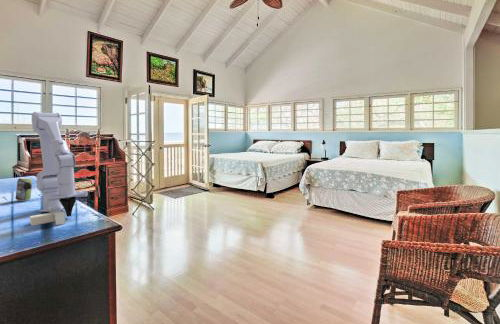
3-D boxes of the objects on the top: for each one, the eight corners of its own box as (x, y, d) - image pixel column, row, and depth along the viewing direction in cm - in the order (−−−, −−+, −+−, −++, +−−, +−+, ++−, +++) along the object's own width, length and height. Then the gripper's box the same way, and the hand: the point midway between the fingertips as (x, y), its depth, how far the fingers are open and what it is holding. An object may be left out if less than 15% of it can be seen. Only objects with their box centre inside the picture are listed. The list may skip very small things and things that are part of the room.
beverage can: (15, 200, 140) (13, 177, 139) (33, 198, 146) (31, 176, 144) (16, 202, 136) (13, 179, 135) (34, 200, 141) (32, 177, 140)
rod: (31, 225, 103) (30, 218, 102) (30, 223, 105) (29, 216, 104) (65, 219, 110) (65, 212, 110) (64, 217, 113) (63, 210, 112)
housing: (49, 217, 113) (48, 206, 112) (58, 215, 115) (57, 204, 114) (56, 225, 103) (55, 213, 102) (65, 223, 105) (64, 211, 104)
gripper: (46, 187, 102) (49, 222, 104) (89, 182, 112) (91, 213, 114) (43, 184, 107) (45, 217, 109) (84, 180, 117) (86, 210, 119)
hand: (68, 215), depth 112 cm, fingers closed
